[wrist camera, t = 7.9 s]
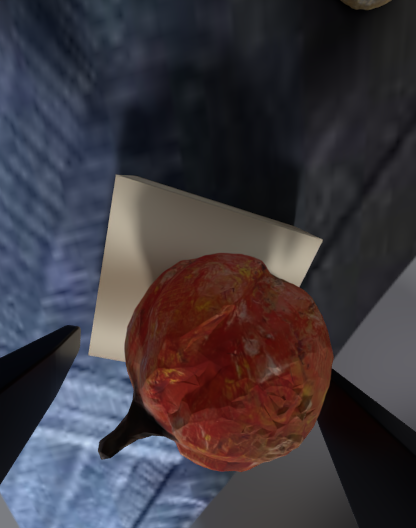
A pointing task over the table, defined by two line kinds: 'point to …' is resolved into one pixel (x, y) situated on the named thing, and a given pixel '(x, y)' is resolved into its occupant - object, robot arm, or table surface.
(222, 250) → the pale wooden block
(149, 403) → the red oval lump
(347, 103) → the table surface
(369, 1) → the sprinkles bottle
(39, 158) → the table surface
